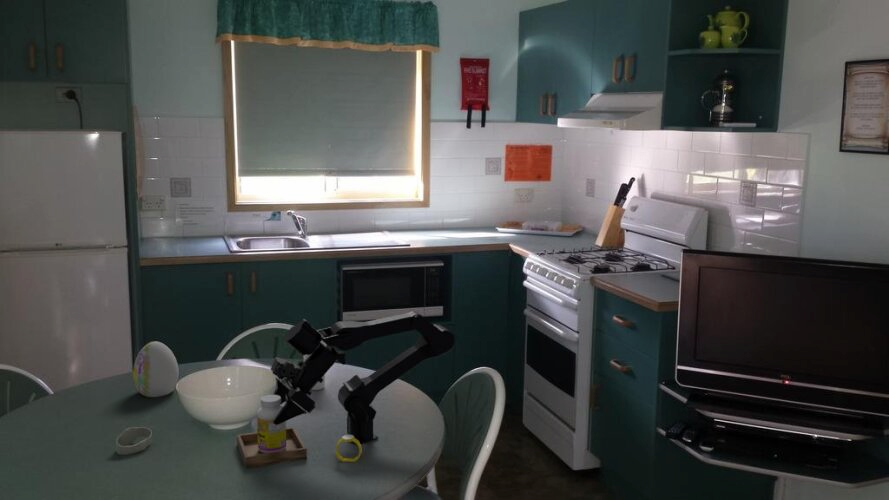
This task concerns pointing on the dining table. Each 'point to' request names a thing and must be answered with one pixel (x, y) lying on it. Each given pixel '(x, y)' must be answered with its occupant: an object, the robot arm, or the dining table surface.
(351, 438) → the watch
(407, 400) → the dining table surface
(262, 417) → the supplement bottle
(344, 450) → the dining table surface
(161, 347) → the decorative egg
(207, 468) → the dining table surface
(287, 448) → the walnut tray
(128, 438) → the grey hollow oval piece
